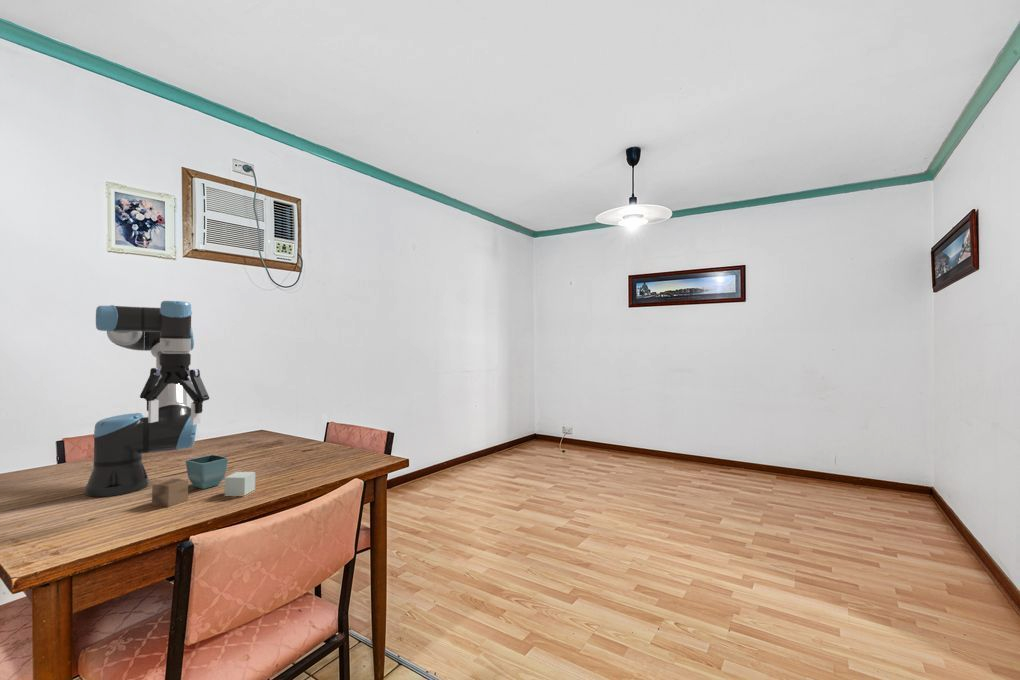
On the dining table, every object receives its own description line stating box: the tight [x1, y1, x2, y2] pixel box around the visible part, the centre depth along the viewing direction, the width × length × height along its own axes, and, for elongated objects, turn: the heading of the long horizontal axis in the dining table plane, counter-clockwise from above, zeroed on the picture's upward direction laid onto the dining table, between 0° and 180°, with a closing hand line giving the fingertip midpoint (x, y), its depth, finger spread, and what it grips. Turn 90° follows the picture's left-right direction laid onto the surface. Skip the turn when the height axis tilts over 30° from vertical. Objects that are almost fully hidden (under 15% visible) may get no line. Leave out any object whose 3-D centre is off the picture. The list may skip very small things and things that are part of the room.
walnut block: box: [151, 478, 189, 508], centre depth 133 cm, size 6×6×6 cm
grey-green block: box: [224, 471, 256, 497], centre depth 142 cm, size 6×6×6 cm
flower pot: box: [185, 454, 229, 490], centre depth 149 cm, size 9×9×9 cm
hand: (174, 423), depth 137 cm, fingers open, 13 cm apart
